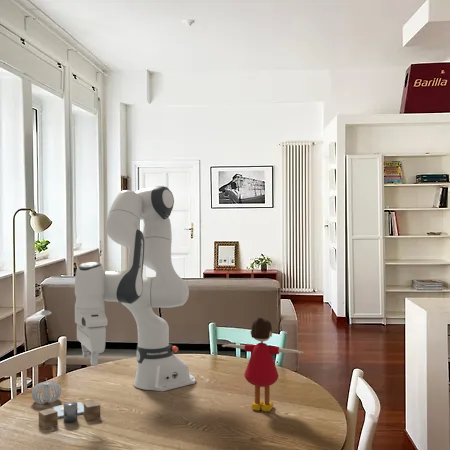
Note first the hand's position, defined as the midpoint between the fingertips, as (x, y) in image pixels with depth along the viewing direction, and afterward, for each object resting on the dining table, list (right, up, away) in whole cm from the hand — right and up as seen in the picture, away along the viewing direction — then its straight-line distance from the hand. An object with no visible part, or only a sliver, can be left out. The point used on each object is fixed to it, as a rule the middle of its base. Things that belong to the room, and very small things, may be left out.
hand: (89, 361), depth 162 cm
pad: (-8, -17, +5) cm, 20 cm away
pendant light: (-18, -17, +14) cm, 28 cm away
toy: (+53, -17, +6) cm, 56 cm away
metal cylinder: (-5, -17, -2) cm, 18 cm away
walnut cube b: (-11, -18, -5) cm, 21 cm away
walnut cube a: (+1, -17, +1) cm, 17 cm away
